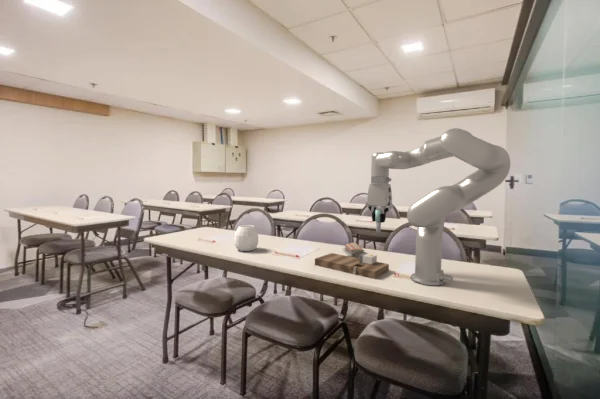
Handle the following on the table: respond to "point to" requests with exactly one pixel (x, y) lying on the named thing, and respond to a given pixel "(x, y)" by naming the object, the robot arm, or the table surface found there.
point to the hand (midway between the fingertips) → (378, 221)
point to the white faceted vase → (246, 238)
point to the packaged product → (353, 250)
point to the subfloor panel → (352, 265)
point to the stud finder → (367, 258)
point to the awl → (378, 220)
